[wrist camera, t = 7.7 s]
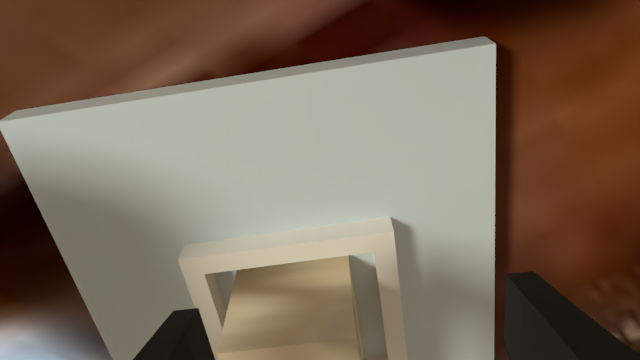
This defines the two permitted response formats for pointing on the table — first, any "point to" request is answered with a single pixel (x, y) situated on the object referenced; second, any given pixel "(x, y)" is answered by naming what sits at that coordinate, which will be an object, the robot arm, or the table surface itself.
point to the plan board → (282, 194)
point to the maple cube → (293, 313)
